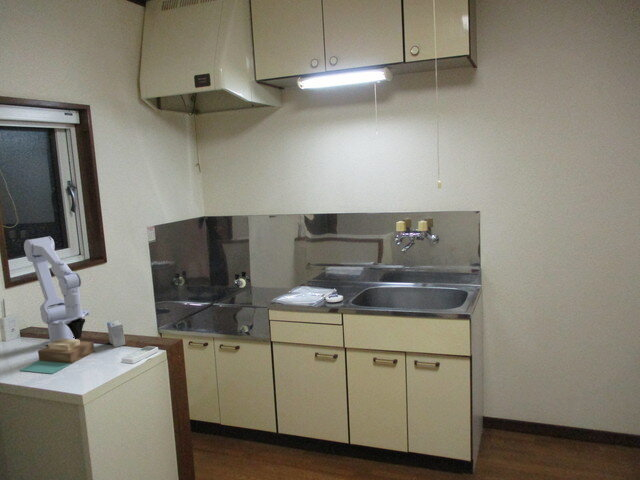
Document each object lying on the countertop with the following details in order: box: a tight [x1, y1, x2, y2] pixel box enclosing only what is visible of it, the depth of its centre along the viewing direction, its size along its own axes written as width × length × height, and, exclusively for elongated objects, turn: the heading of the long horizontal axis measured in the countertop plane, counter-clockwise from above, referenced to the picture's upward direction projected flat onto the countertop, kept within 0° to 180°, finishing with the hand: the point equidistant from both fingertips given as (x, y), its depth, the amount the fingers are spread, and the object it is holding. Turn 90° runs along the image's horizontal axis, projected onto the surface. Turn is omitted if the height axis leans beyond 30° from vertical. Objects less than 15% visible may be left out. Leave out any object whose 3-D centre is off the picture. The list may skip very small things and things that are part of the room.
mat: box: [19, 360, 72, 375], centre depth 191 cm, size 9×15×1 cm, turn 72°
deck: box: [37, 340, 95, 365], centre depth 200 cm, size 12×15×4 cm
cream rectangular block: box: [48, 338, 81, 351], centre depth 199 cm, size 6×9×2 cm, turn 72°
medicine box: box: [106, 319, 126, 348], centre depth 210 cm, size 8×4×9 cm, turn 34°
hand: (77, 337), depth 206 cm, fingers closed
